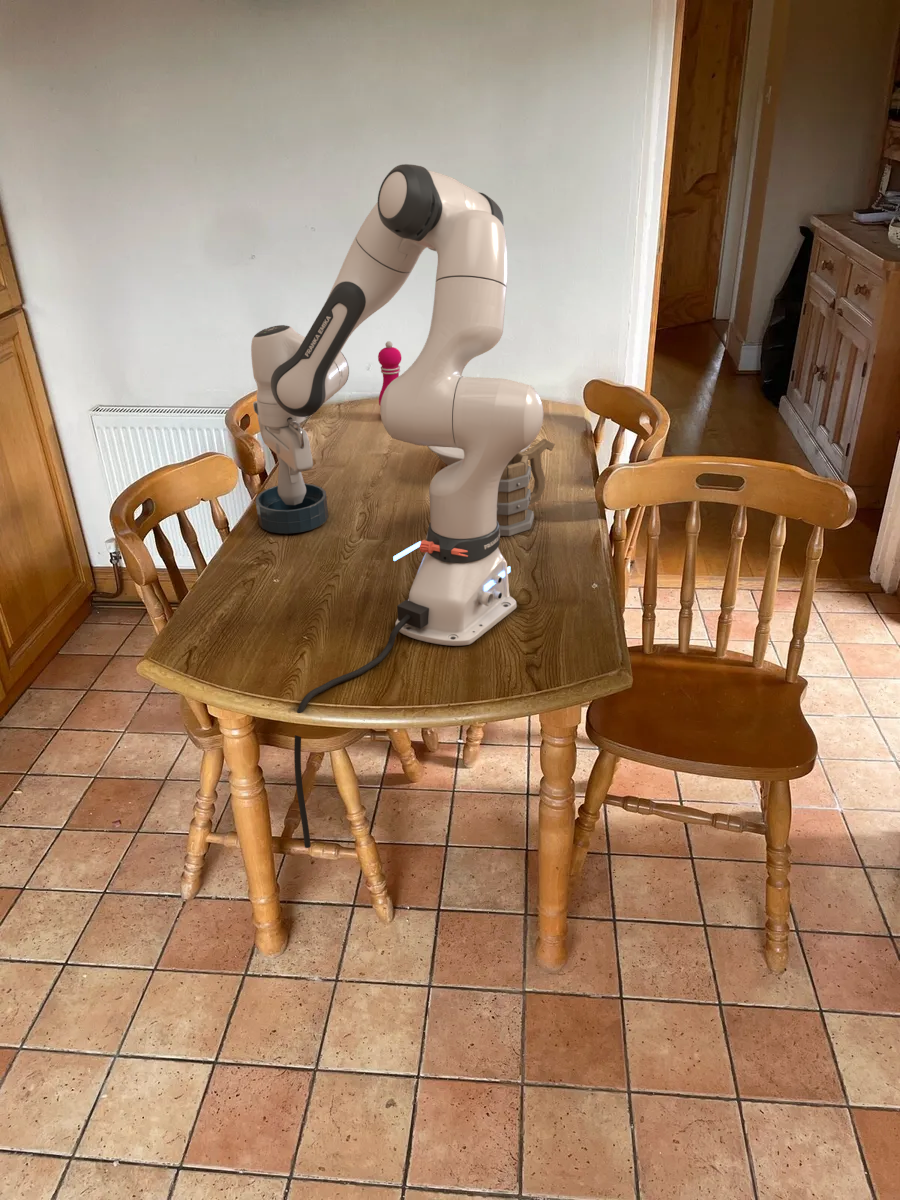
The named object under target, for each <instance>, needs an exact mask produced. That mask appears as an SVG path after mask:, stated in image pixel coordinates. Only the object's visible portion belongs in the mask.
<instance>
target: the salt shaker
mask: <svg viewBox="0 0 900 1200" xmlns="http://www.w3.org/2000/svg"><path fill="white" fill-rule="evenodd" d="M275 447H276V452H277V453H278V454H280V449H279V445H278V444H276V445H275ZM277 486H278V490H277V491H278V494H279V496H280V498H281V499H282V500H283V502H284V503H285V504H286V505H296V504H299V503H302V501H303V499H304V496H305V494H306V486H305V480H304V477H303V473H302V472H299V482H296V483H291V482H290V479H289V467H288V464H287V463H286V462H284V461H283V460H282V459H281V458H280V457H279V461H278V474H277Z"/></svg>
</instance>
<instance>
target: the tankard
mask: <svg viewBox="0 0 900 1200" xmlns="http://www.w3.org/2000/svg"><path fill="white" fill-rule="evenodd" d="M555 445H556V443H555V442H553V441H550V440H549V439H546V438H542V439H541V440H540V441H539V442H537V444H535V445H534V446H532V447H531V448H530V449H529V450H525V451H523V452H519V453H517V454H516V455H515V456H514V457H513V458H512V459H511V461H510V462H509V463H508V464H507V466H506V468H505V469H504V471H503V473H502V476H501V478H500V482H499V487H498V497H497V521H498V523H499V529H500V537H511V536H514V535H517V534H520V533H523V532H527V531H530V530H531V528H532V526H533V522H534V518H535V512H534V511H533V510H531V509H529V506H530V505H532V504H535V503H537V502H538V501H541V499H542V496H543V493H544V491H545V489H546V476H545V473H544V469H543V467H542V454H543V452H544V451H546V450H548V451H550V452H552V451H553V449H554V447H555ZM529 463H530V465H529ZM532 477H533V480H534V483H533V484H534V485H533V488H532V491H531V489H530V488H529V484H530V482H531V481H530V480H531V478H532Z"/></svg>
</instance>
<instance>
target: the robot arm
mask: <svg viewBox="0 0 900 1200" xmlns="http://www.w3.org/2000/svg"><path fill="white" fill-rule="evenodd" d="M504 225H505V224H504V215H503V210H502V209H501V207H500V206H499V204H498V203H497V202H496V201H494V199H492V198H491V197H489V196H488V195H487V194H485V193H483V192H479V191H477V190H475V189H474V188H471V187H470V186H468V185H466V184H464V183H462V182H460V181H459V180H457V179H456V178H454V177H451V176H449V175H446V174H444V173H440V172H437V171H433V170H430V169H427V168H425V167H424V166H422V165H416V164H407V163H405V164H399V165H396V166H395V167H393V168H392V169H391V170H390V171H389V172H388V173H387V175H386V176H385V177H384V179H383V180H382V183H381V185H380V187H379V190H378V194H377V202H376V203H375V205H374V206H373V207H372V208H371V210H370V211H369V213H368V215H367V216H366V217H365V219H364V221H363V222H362V224H361V226H360V228H359V229H358V231H357V233H356V235H355V237H354V239H353V241H352V243H351V245H350V247H349V249H348V251H347V254H346V255H345V258H344V260H343V262H342V265H341V268H340V270H339V272H338V274H337V277H336V279H335V281H334V283H333V285H332V287H331V290H330V292H329V294H328V296H327V298H326V300H325V302H324V304H323V306H322V308H321V310H320V311H319V313H318V314H317V316H316V318H315V320H314V321H313V323H312V325H311V326H310V329H308V332H307V334H306V335H305V336H303V335H301V334H300V333H298V332H297V331H296V330H295V329H294V328H293V327H292V326H290V325H285V324H281V325H280V324H279V325H274V326H270V327H267V328H264V329H262V330H260V331H258V332H256V333H255V334H254V335H253V337H252V339H251V346H250V350H251V351H250V352H251V356H250V357H251V366H252V375H253V379H254V381H255V384H256V390H257V391H256V400H255V401H253V403H252V407H253V411H254V413H255V414H256V416H257V422H258V428H259V431H260V436H261V438H262V441H263V443H264V444H265V445H266V446H267V447H268V448H269V449H270V450H271V451H272V452H273V453H275V454H276V458H277V461H278V462H279V457H280V458H281V459H282V460H283V461H284V462H286V463H287V464H288V467H289V479H290V482H291V483H296V482H299V472H301V473H302V472H306V471H310V470H312V469H313V466H314V460H313V455H312V450H311V448H312V447H311V443H310V437H309V435H308V433H307V431H306V430H305V429H304V428H303V427H301V423H303V422H304V421H305V420H306V418H307V417H311V416H312V415H314V414H315V413H317V412H318V411H319V409H320V408H321V407H322V406H323V405H324V404H325V403H326V402H327V401H329V400H330V399H331V398H332V397H333V396H335V394H337V393H338V392H339V391H340V390H341V389H343V388H344V386H345V385H346V384H347V382H348V380H349V375H350V367H349V363H348V361H347V358H346V356H345V355H344V353H343V352H342V349H343V348H344V346H345V345H346V343H347V342H348V339H349V338H350V337H351V335H352V334H353V333H354V332H355V330H356V329H357V328H359V326H361V324H362V323H364V322H365V321H367V319H369V318H370V317H371V316H372V315H374V314H375V313H376V312H377V311H379V310H380V309H382V308H383V307H384V306H386V305H387V304H388V303H389V302H390V301H392V299H393V298H394V297H395V296H396V295H397V294H398V292H399V291H400V290H401V289H402V288H403V286H404V285H405V284H406V282H407V280H408V279H409V277H410V275H411V273H412V271H414V268H415V266H416V265H417V263H418V260H419V258H420V256H421V255H422V253H423V252H424V250H425V249H428V250H430V251H433V252H436V254H437V266H436V274H435V285H434V298H433V305H432V314H431V320H430V327H429V331H428V334H427V337H426V340H425V343H424V345H423V348H422V349H421V350H420V352H419V354H418V356H417V357H416V359H414V361H413V363H411V364H410V366H409V367H408V368H407V369H406V370H405V371H404V372H403V373H401V374H399V377H397V378H396V379H394V380H393V381H392V382H391V383H390V384H389V385H388V387H387V388H386V390H385V391H384V394H383V396H382V399H381V404H380V405H379V414H380V420H381V422H382V425H383V428H384V429H385V431H386V433H387V434H388V435H389V436H390V437H391V438H392V439H394V440H397V441H401V442H404V443H409V444H412V445H416V446H422V447H424V446H425V447H428V446H437V447H453V448H459V449H462V450H463V451H464V459H462V460H460V461H458V462H456V463H454V464H451V465H449V466H448V465H447V466H445V467H442V469H440V470H439V471H437V472H436V473H435V475H434V476H433V477H432V479H431V481H430V483H429V488H428V495H429V516H430V517H429V518H430V519H429V520H430V522H429V524H428V528H427V532H426V537H425V538H426V539H422V540H420V541H418V542H415V543H414V544H413V545H411V546H409V547H407V548H405V549H404V550H402V551H401V552H399V553H396V555H394V556H393V557H392V558H393V561H394V562H396V561H397V560H399V559H401V558H403V557H405V556H406V555H408V554H409V553H411V552H413V551H414V550H416V549H418V548H419V552H420V553H424V555H423V557H422V559H421V563H420V565H419V567H418V569H417V572H416V574H415V576H414V580H413V582H412V584H411V587H410V590H409V592H408V593H409V594H408V599H405V600H403V601H402V602H400V603H399V604H397V605H396V611H397V619H396V621H395V624H394V627H393V628H392V630H391V632H390V634H389V636H388V641H387V644H386V645H385V647H384V648H383V650H382V651H381V652H380V654H378V656H376V657H375V658H374V659H373V660H371V661H369V662H367V663H366V664H364V665H363V666H361V667H359V668H357V669H355V670H353V671H351V672H347V673H346V674H345V673H344V674H343V675H340V676H338V677H335V678H333V679H331V680H329V681H327V682H325V683H323V684H321V685H320V686H318V687H316V688H313V689H311V690H310V691H309V692H307V694H306V695H305V696H304V697H303V698H302V700H301V701H300V703H299V705H298V707H297V710H296V713H297V714H302V713H304V712H305V710H306V708H307V706H308V705H309V703H310V701H311V700H312V699H313V698H314V697H315V696H318V695H320V694H321V693H323V692H325V691H327V690H329V689H331V688H332V687H335V686H337V685H339V684H341V683H345V682H346V681H349V680H352V679H354V678H356V677H359V676H361V675H363V674H364V673H366V672H368V671H369V670H371V669H373V668H374V667H376V666H377V665H379V664H380V663H381V662H382V661H383V660H384V659H385V658H386V657H387V656H388V655H389V653H390V652H391V650H392V649H393V647H394V644H395V642H396V638H397V635H398V634H399V633H400V634H402V635H404V636H405V637H409V638H412V639H413V640H414V639H415V640H418V641H421V642H425V643H431V644H434V645H441V646H455V647H457V646H458V647H459V646H470V645H471V644H473V643H474V642H475V641H477V640H478V639H480V637H482V636H483V635H484V634H485V633H487V632H488V631H490V630H491V629H492V628H493V627H495V625H497V624H498V623H500V622H501V621H503V619H504V618H506V617H507V616H509V615H510V614H511V613H512V612H513V611H514V610H516V609H517V606H518V605H517V601H516V599H515V598H514V597H512V596H511V595H510V584H509V574H510V573H511V566H508V562H507V560H506V559H505V557H504V555H503V554H502V552H501V550H500V548H499V547H500V543H501V542H500V541H501V536H500V529H499V523H498V521H497V497H498V487H499V482H500V478H501V476H502V473H503V471H504V469H505V468H506V466H507V464H508V463H509V462H510V461H511V459H512V458H513V457H514V456H515V455H516V454H517V453H519V452H520V451H521V450H523V449H525V448H526V447H528V446H529V445H530V444H531V445H532V443H533V442H534V441H535V440H536V439H537V437H538V436H539V435H540V432H541V430H542V428H543V424H544V418H545V417H544V415H545V413H544V405H543V403H542V399H541V397H540V395H539V394H538V393H539V392H537V390H536V389H535V388H534V387H533V386H532V385H531V384H527V383H524V382H521V381H517V380H513V379H512V380H511V379H507V378H503V377H501V378H500V377H479V376H478V377H477V376H463V372H464V370H465V368H466V366H467V365H468V364H469V362H470V361H472V360H473V359H475V358H476V357H479V356H481V355H483V354H485V353H488V352H489V351H490V350H492V349H493V348H494V347H496V346H497V345H498V343H499V342H500V340H501V339H502V336H503V333H504V324H505V313H506V300H507V288H508V287H507V286H508V247H507V237H506V236H507V235H506V230H505V227H504ZM276 444H278V445H279V449H280V454H278V453H277V452H276V447H275V445H276ZM531 445H530V446H531ZM293 747H294V749H293V750H294V753H293V754H294V755H293V757H294V760H293V761H294V778H295V788H296V795H297V801H298V809H299V814H300V821H301V827H302V828H301V829H302V835H303V843H304V848H305V849H309V848H311V847H312V846H311V837H310V829H309V821H308V815H307V808H306V801H305V794H304V786H303V775H302V736H299V735H295V734H294V746H293Z"/></svg>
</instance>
